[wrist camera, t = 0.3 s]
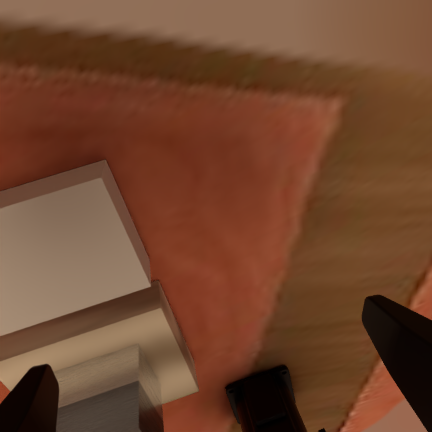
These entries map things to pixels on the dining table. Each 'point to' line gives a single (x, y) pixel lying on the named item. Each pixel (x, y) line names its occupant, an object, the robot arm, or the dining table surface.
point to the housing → (110, 394)
